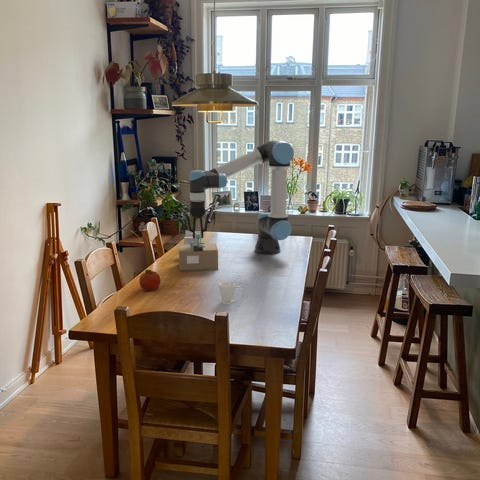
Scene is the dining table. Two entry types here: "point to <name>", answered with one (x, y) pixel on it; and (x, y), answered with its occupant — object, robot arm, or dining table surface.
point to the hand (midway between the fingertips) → (198, 244)
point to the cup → (228, 292)
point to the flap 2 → (206, 245)
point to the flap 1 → (187, 247)
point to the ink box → (189, 238)
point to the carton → (198, 260)
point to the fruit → (149, 280)
